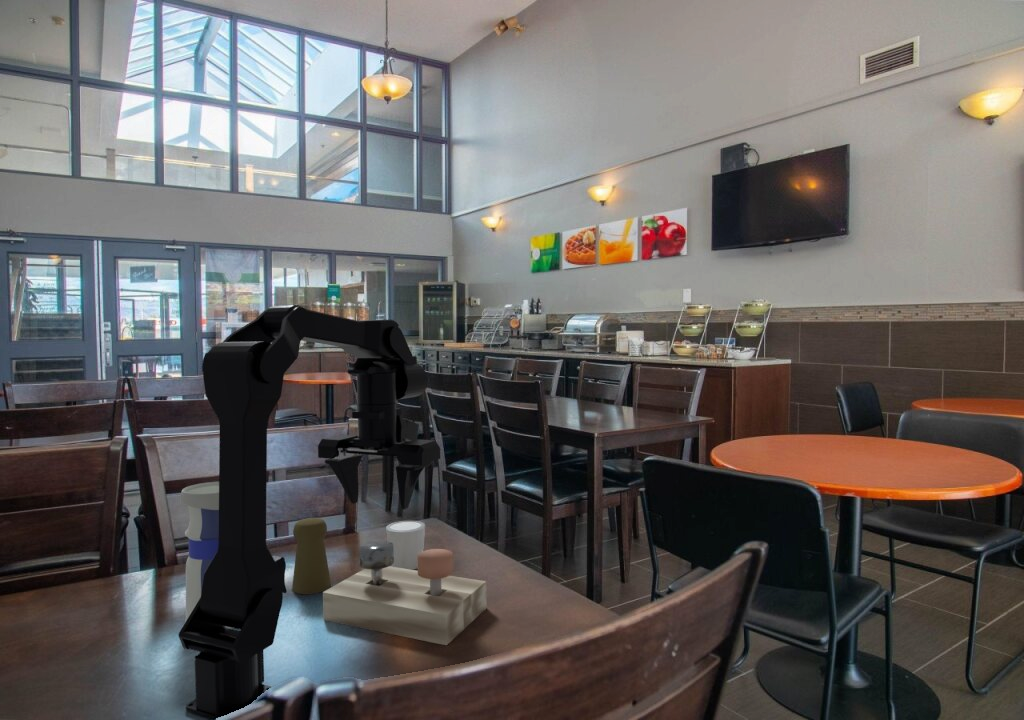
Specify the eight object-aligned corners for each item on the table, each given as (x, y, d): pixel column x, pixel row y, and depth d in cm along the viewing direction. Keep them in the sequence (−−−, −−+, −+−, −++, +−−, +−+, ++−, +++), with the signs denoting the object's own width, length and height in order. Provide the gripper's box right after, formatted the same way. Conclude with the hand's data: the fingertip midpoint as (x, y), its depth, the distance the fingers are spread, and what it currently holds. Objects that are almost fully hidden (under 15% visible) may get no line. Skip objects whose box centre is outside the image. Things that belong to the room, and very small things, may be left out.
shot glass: (382, 561, 112) (381, 523, 112) (419, 555, 115) (418, 517, 115) (392, 574, 106) (391, 533, 105) (431, 567, 109) (430, 527, 108)
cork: (319, 595, 97) (317, 525, 97) (284, 592, 99) (282, 524, 98) (337, 580, 103) (336, 514, 103) (304, 578, 104) (302, 513, 104)
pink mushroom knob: (442, 608, 85) (441, 563, 85) (411, 603, 87) (410, 558, 87) (459, 594, 89) (459, 551, 89) (429, 589, 91) (429, 547, 91)
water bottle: (249, 604, 94) (244, 440, 93) (247, 629, 86) (241, 449, 85) (188, 614, 91) (182, 444, 90) (180, 640, 83) (173, 454, 82)
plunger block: (446, 645, 81) (445, 615, 81) (323, 619, 89) (322, 592, 89) (486, 608, 92) (486, 581, 92) (373, 588, 100) (373, 563, 100)
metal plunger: (381, 597, 89) (380, 554, 89) (352, 592, 91) (351, 549, 91) (401, 584, 93) (400, 543, 93) (373, 580, 95) (372, 539, 95)
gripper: (457, 399, 97) (459, 498, 98) (359, 396, 105) (362, 488, 105) (418, 407, 87) (421, 517, 88) (314, 403, 95) (316, 505, 95)
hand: (379, 505), depth 94 cm, fingers open, 9 cm apart
